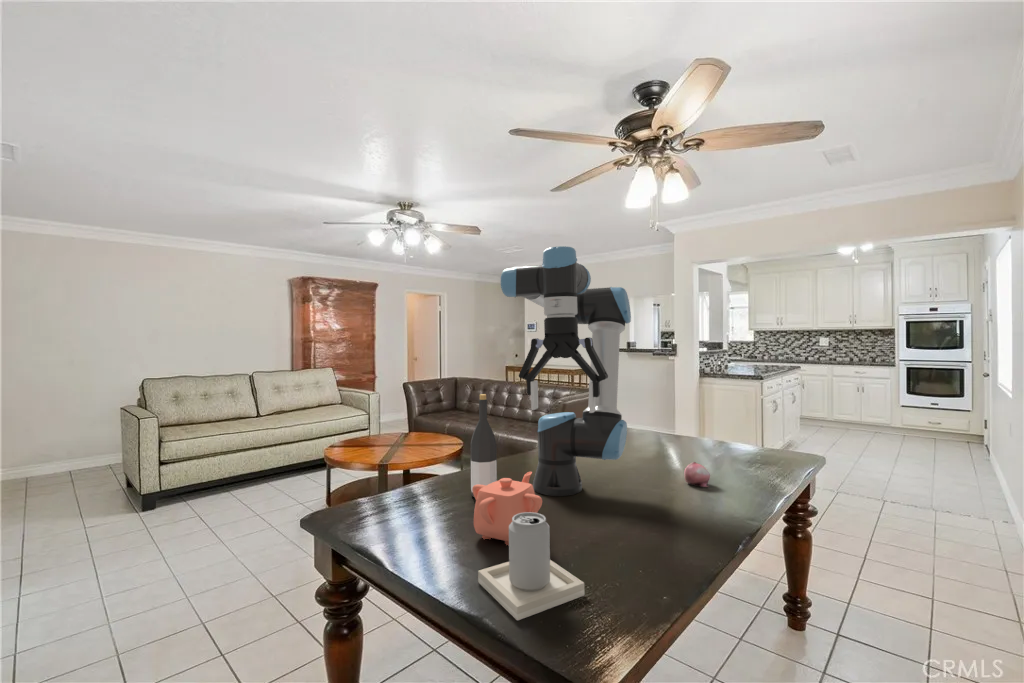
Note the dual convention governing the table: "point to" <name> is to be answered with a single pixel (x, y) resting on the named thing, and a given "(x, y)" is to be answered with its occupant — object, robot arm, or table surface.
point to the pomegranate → (696, 475)
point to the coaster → (530, 603)
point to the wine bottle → (483, 450)
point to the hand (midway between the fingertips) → (562, 410)
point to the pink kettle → (502, 505)
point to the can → (529, 551)
